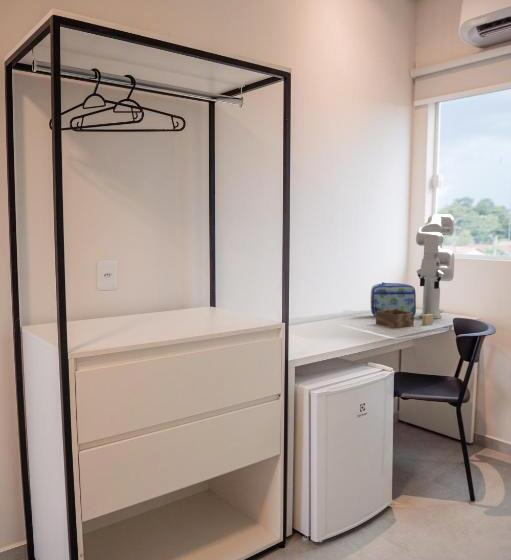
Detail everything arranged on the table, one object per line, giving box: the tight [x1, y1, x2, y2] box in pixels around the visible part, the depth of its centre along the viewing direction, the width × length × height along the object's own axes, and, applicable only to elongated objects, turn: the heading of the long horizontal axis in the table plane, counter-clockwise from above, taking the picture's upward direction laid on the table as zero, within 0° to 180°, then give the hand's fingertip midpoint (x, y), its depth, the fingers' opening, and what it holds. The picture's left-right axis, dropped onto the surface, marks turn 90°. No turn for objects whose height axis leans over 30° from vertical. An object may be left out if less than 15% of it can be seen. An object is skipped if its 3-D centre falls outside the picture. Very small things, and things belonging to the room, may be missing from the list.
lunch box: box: [370, 281, 417, 318], centre depth 313 cm, size 26×11×21 cm, turn 84°
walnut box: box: [375, 309, 415, 329], centre depth 287 cm, size 14×14×8 cm
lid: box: [421, 314, 447, 328], centre depth 289 cm, size 15×15×7 cm
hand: (429, 287), depth 287 cm, fingers open, 9 cm apart
